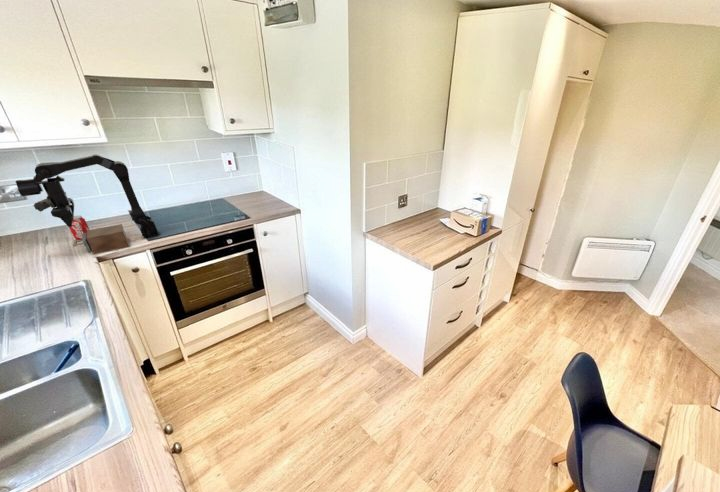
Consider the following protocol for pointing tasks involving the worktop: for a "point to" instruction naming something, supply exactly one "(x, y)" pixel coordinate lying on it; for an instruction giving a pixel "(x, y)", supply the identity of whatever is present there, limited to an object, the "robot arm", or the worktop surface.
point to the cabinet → (107, 239)
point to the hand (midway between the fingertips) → (71, 223)
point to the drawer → (83, 243)
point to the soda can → (78, 227)
